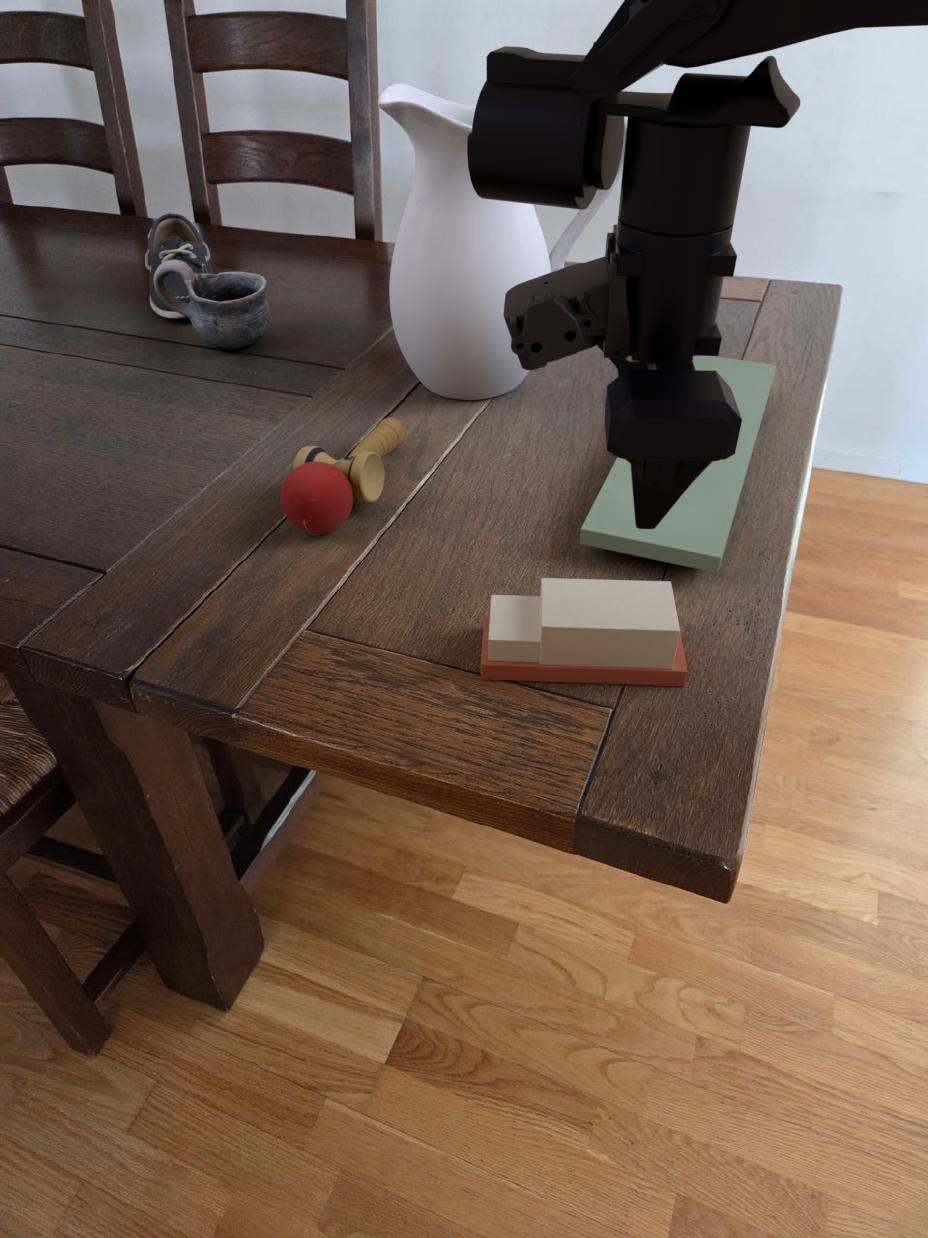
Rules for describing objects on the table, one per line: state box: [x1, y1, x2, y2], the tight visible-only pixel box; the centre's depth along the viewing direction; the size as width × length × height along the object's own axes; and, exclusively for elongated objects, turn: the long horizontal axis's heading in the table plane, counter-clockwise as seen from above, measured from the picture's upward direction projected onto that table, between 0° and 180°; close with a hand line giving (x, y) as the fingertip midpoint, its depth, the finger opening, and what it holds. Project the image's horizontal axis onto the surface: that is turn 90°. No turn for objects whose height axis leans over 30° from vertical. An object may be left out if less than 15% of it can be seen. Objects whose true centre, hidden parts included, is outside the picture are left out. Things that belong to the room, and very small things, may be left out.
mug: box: [154, 260, 271, 350], centre depth 100 cm, size 10×12×10 cm
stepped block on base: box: [480, 577, 689, 687], centre depth 60 cm, size 14×6×5 cm, turn 86°
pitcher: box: [377, 83, 628, 401], centre depth 87 cm, size 24×17×28 cm
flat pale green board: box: [578, 356, 777, 574], centre depth 80 cm, size 36×11×3 cm, turn 158°
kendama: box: [280, 417, 407, 536], centre depth 77 cm, size 8×6×18 cm
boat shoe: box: [144, 212, 212, 319], centre depth 115 cm, size 25×9×8 cm, turn 14°
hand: (638, 485), depth 53 cm, fingers open, 9 cm apart
